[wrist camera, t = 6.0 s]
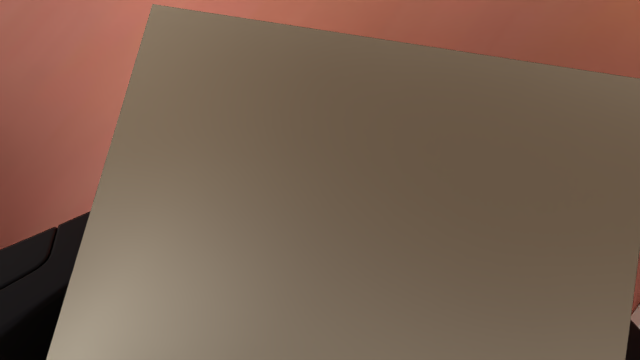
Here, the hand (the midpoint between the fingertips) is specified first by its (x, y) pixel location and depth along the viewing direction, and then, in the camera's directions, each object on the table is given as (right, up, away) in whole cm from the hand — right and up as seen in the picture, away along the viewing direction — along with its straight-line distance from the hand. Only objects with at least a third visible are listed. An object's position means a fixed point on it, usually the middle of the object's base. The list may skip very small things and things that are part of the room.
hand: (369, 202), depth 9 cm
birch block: (+1, -2, +6) cm, 7 cm away
